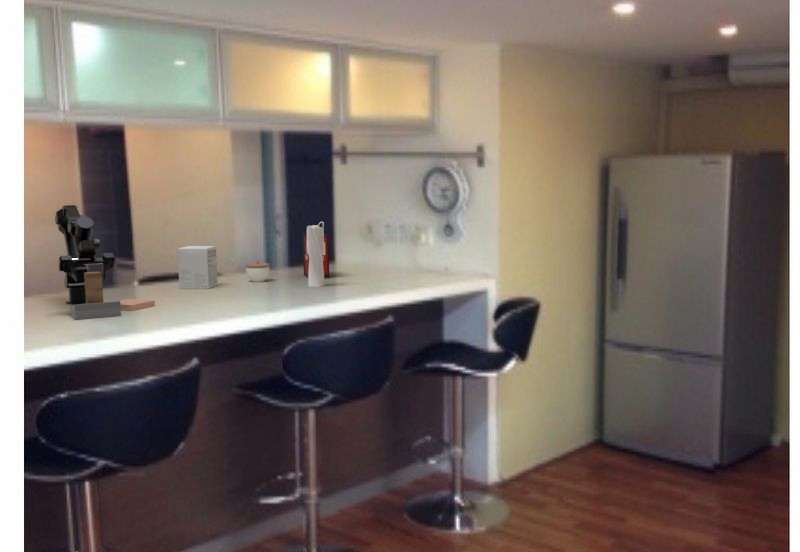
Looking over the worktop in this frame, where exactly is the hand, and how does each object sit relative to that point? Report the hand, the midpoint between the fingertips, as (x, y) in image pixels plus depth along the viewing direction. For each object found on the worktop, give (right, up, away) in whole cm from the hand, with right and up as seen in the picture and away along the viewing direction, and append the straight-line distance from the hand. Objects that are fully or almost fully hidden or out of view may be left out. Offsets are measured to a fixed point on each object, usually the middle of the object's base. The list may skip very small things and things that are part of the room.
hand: (91, 279), depth 294 cm
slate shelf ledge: (+2, -12, -2) cm, 13 cm away
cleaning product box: (+70, +1, +100) cm, 122 cm away
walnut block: (+2, -9, -3) cm, 10 cm away
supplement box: (+22, -4, +68) cm, 71 cm away
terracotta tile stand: (+10, -10, +14) cm, 20 cm away
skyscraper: (+73, -3, +67) cm, 99 cm away
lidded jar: (+45, -1, +85) cm, 96 cm away
